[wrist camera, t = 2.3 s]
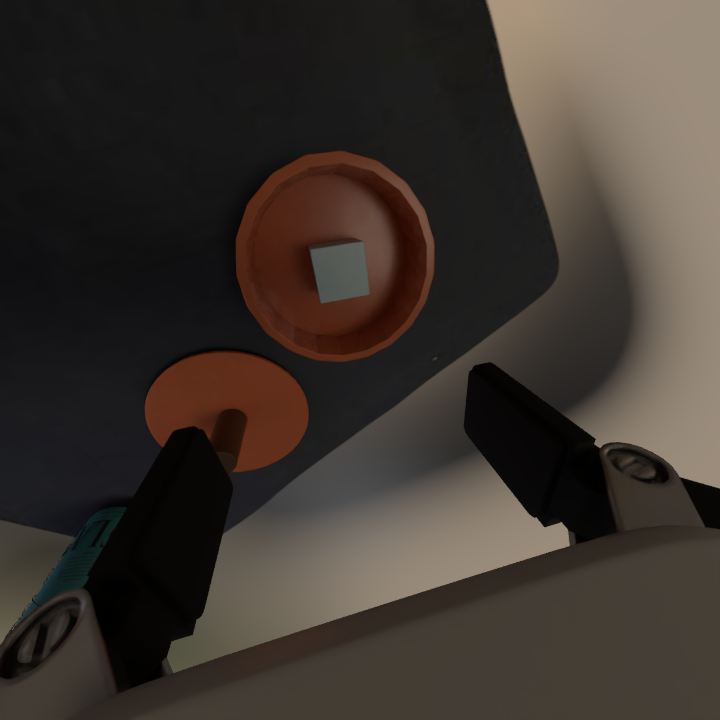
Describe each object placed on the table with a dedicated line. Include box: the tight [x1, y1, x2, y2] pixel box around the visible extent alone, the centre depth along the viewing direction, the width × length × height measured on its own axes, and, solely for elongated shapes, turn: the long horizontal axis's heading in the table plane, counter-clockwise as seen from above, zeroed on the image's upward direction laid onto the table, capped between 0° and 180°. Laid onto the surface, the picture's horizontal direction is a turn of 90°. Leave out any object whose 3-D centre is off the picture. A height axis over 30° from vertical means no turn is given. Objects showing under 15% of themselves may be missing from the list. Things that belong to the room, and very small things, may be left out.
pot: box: [236, 151, 434, 362], centre depth 23 cm, size 15×15×5 cm
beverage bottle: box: [4, 507, 127, 640], centre depth 25 cm, size 6×7×20 cm
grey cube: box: [308, 238, 370, 303], centre depth 23 cm, size 4×4×4 cm
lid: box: [145, 350, 309, 474], centre depth 27 cm, size 16×16×7 cm
